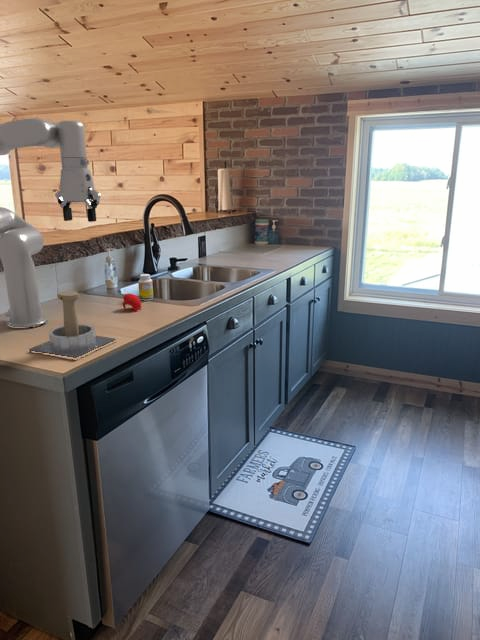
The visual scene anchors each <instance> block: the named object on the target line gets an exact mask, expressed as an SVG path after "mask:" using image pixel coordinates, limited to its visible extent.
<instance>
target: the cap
mask: <svg viewBox="0 0 480 640" xmlns="http://www.w3.org/2000/svg"><path fill="white" fill-rule="evenodd" d="M122 299H123V301H122V306H123V309H125V310H124V311H126V310H127V308H126V305H129V306H131V307H132V309H133V310H134V311H135V312H138V311H137V310H140V311H141V309H142V300H140V298H139V296H137V295H136V294H134V293H129V292H128V293H126V294H124V295H123V298H122Z"/></svg>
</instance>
